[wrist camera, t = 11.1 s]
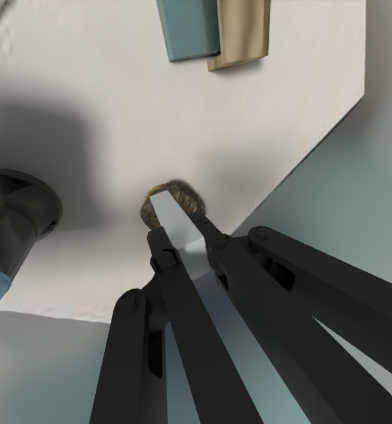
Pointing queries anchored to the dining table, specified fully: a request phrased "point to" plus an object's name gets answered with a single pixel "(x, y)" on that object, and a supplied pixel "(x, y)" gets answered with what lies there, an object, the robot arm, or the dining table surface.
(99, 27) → the dining table surface
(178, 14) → the teal tabbed plate
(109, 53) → the dining table surface
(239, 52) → the overhang
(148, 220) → the turtle shell
